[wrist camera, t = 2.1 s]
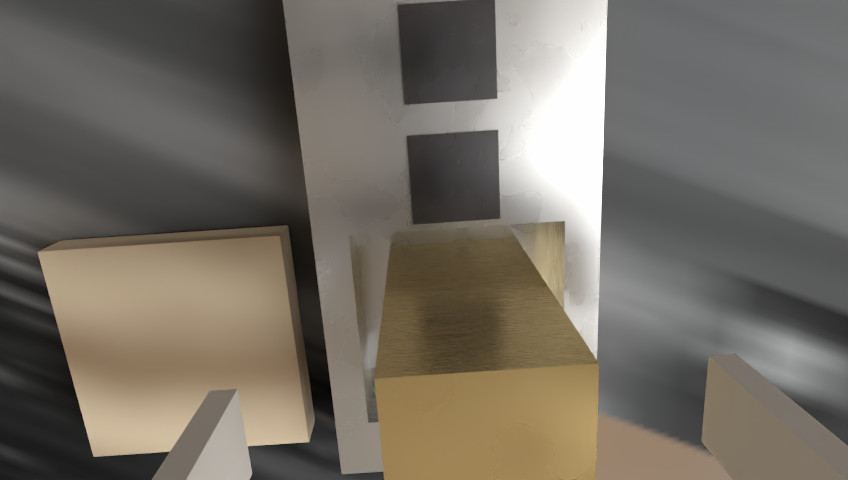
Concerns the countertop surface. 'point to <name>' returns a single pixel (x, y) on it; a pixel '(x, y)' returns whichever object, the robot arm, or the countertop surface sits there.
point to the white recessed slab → (443, 157)
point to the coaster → (181, 333)
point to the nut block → (481, 369)
